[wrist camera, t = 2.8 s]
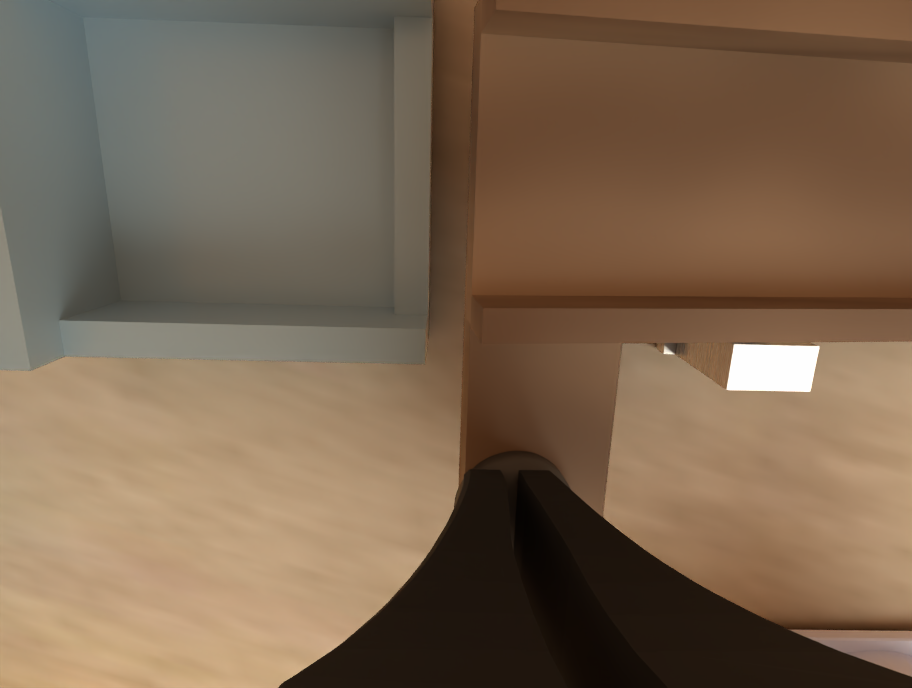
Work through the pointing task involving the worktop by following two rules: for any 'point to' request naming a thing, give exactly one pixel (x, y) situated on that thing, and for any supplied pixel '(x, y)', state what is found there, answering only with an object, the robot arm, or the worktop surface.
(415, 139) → the dish
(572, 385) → the lever
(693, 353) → the fulcrum
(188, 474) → the worktop surface
